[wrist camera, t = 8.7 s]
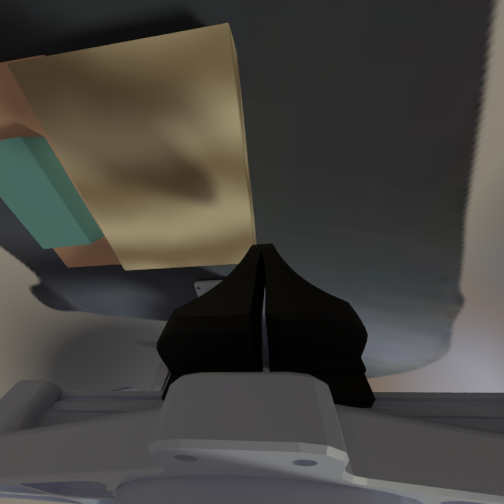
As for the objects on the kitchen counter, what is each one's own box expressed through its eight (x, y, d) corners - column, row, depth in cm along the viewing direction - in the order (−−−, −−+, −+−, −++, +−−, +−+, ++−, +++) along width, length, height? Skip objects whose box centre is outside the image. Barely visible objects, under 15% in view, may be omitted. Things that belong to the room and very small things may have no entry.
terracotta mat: (146, 261, 24) (144, 262, 24) (69, 266, 25) (67, 267, 25) (47, 56, 14) (43, 54, 14) (-73, 78, 15) (-78, 77, 15)
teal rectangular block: (43, 248, 21) (60, 240, 22) (91, 243, 20) (104, 235, 22) (-41, 147, 16) (-11, 147, 17) (20, 136, 15) (44, 137, 17)
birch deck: (256, 243, 22) (255, 262, 18) (145, 251, 23) (124, 270, 20) (236, 52, 14) (228, 22, 10) (65, 81, 15) (6, 63, 11)
